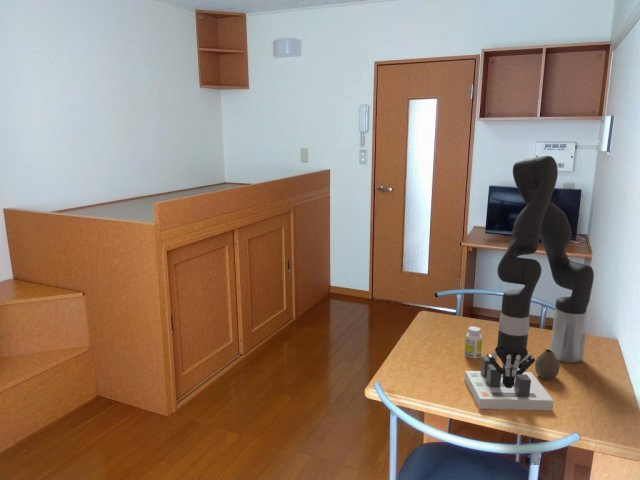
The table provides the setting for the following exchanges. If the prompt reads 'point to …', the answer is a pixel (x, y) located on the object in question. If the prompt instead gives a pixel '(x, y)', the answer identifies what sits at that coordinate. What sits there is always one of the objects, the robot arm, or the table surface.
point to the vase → (547, 365)
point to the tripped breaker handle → (522, 385)
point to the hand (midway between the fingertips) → (507, 386)
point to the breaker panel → (504, 391)
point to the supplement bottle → (473, 342)
